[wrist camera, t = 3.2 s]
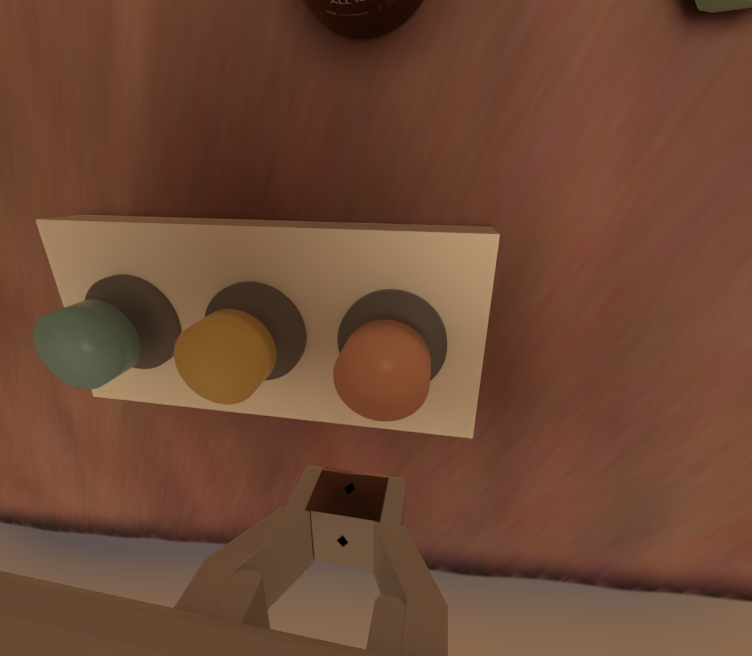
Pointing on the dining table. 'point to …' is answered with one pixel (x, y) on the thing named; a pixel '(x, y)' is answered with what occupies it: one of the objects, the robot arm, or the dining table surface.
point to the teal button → (86, 343)
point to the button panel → (287, 302)
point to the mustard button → (225, 356)
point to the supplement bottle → (362, 15)
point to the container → (722, 5)
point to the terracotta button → (383, 371)
